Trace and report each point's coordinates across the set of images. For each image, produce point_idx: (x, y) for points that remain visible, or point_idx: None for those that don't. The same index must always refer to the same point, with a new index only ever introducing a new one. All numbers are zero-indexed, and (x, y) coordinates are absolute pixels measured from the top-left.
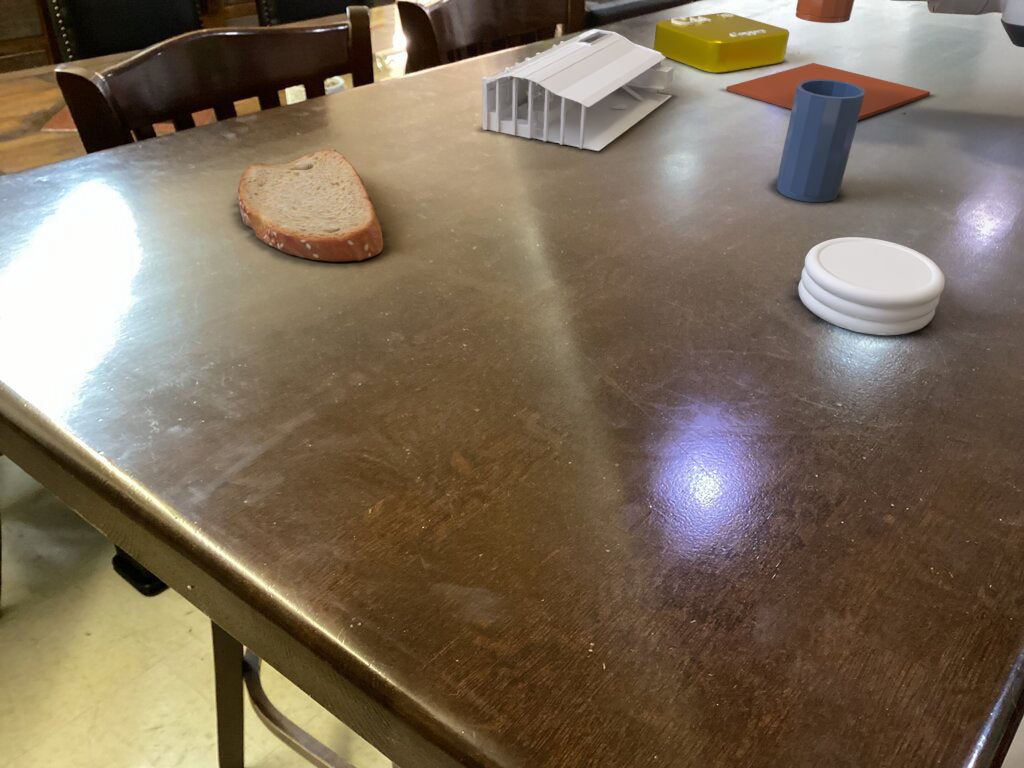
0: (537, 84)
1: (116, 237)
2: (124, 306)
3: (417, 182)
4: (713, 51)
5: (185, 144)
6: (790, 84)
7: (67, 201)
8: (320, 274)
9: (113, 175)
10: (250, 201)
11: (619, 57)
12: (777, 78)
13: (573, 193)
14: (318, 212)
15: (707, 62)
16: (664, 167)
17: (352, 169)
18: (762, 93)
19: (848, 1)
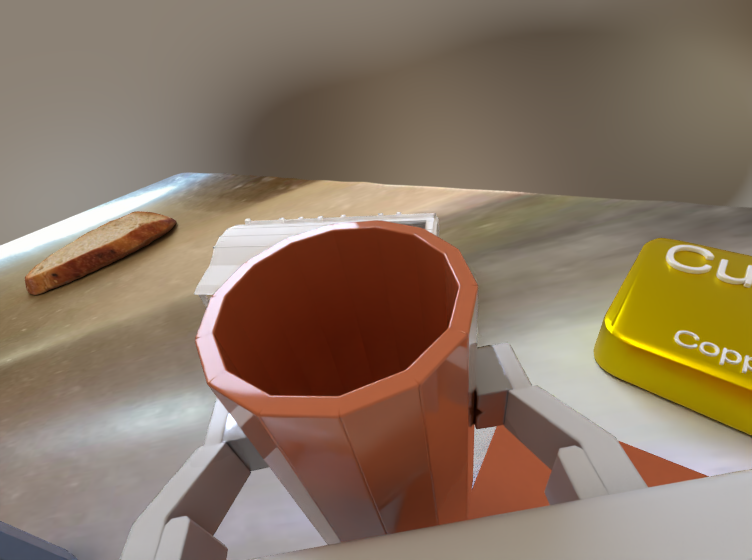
0: (214, 248)
1: (102, 218)
2: (23, 250)
3: (151, 267)
4: (601, 335)
5: (223, 183)
6: None
7: (149, 192)
8: (22, 286)
9: (180, 187)
10: (92, 231)
11: None
12: (643, 476)
13: (106, 349)
14: (72, 255)
15: (596, 342)
16: (159, 400)
17: (111, 241)
18: (505, 462)
19: (324, 536)
